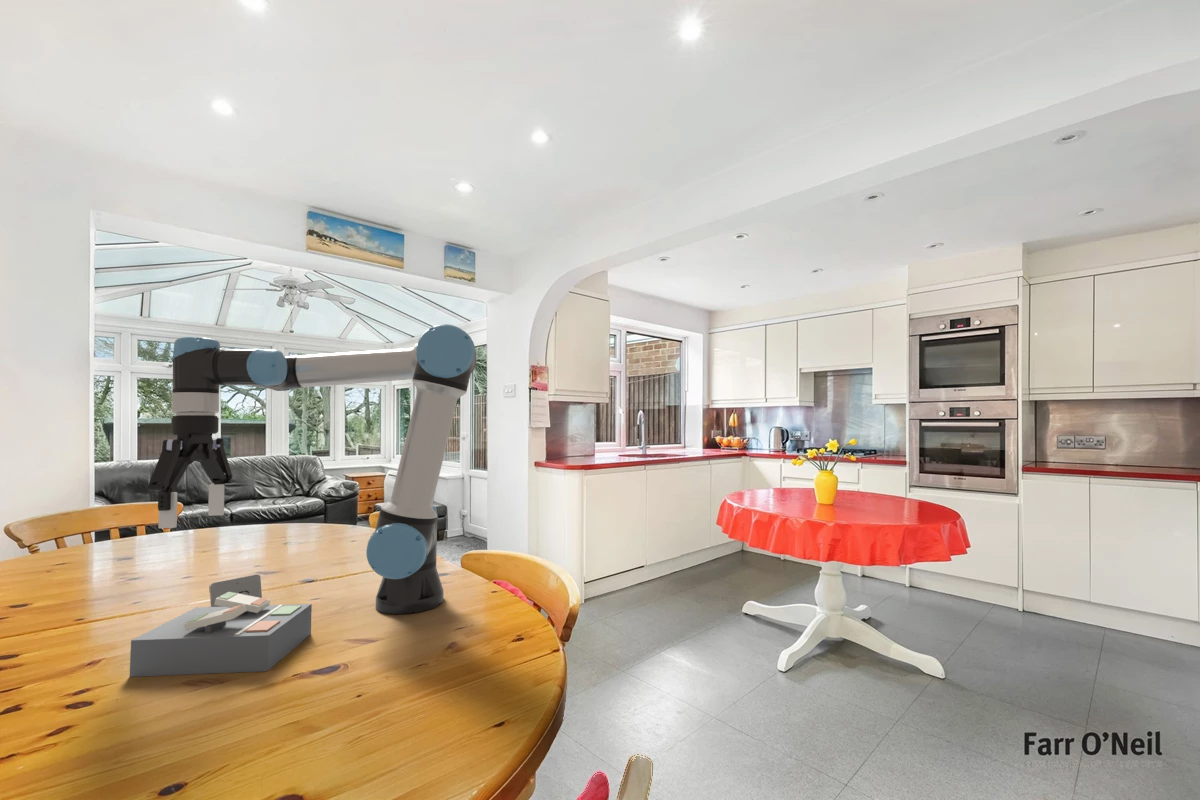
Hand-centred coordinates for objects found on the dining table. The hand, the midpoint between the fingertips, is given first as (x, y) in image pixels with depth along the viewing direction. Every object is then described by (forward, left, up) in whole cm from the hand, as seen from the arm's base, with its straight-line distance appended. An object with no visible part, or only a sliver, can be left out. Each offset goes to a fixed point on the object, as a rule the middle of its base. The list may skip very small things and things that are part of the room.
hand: (193, 521), depth 104 cm
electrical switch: (-3, -9, -23) cm, 25 cm away
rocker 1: (-12, +12, -15) cm, 22 cm away
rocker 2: (-12, +4, -15) cm, 19 cm away
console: (-12, +8, -23) cm, 27 cm away
